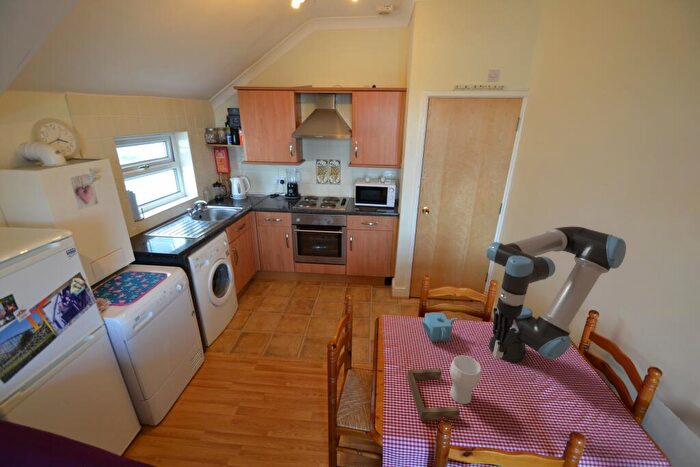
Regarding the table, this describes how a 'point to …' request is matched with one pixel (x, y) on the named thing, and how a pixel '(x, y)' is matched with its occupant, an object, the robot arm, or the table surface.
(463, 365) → the cup
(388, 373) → the table surface
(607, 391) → the table surface
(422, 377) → the wooden u-shaped bracket
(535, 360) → the table surface
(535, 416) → the table surface
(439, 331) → the teapot
